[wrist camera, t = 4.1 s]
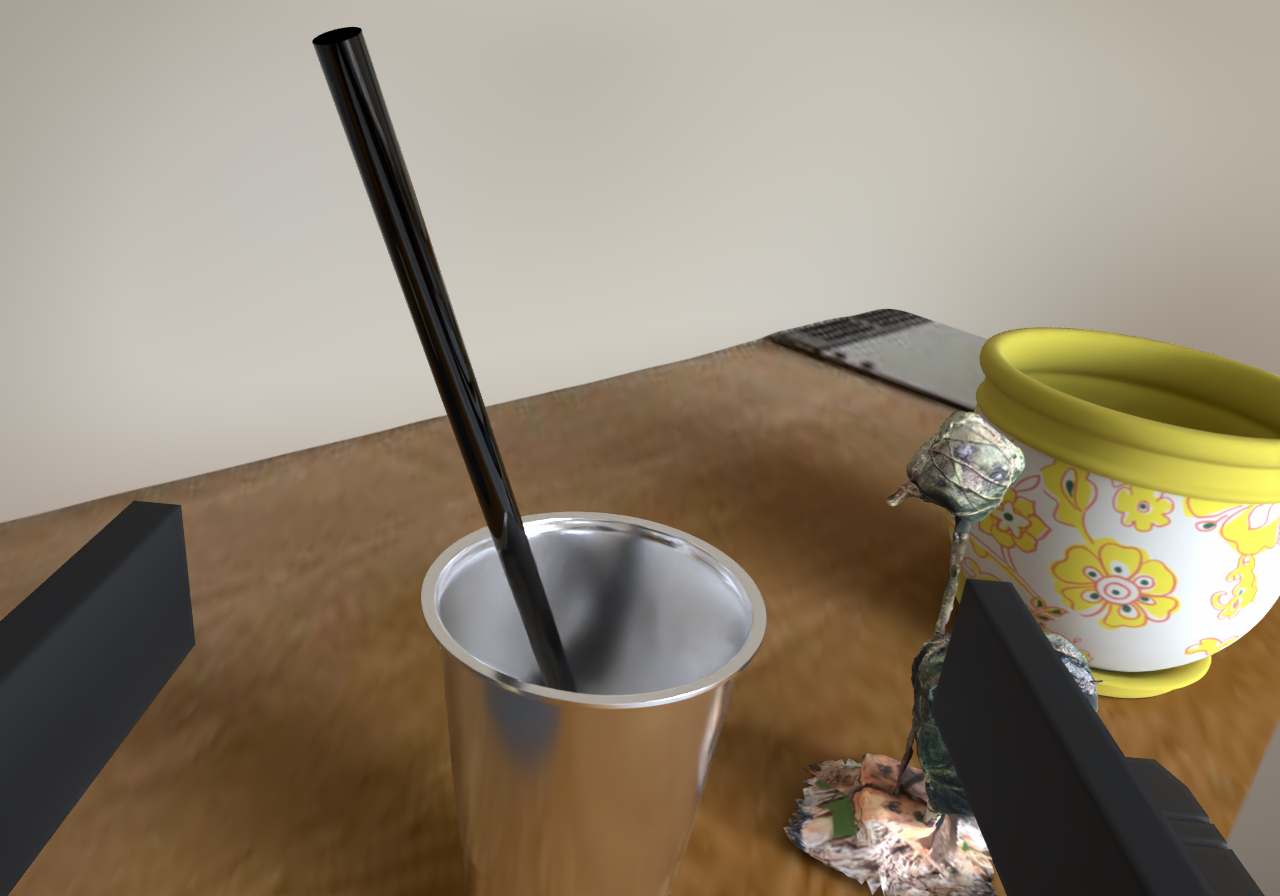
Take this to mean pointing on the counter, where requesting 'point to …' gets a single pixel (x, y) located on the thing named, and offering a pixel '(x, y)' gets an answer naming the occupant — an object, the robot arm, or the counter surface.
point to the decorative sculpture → (922, 713)
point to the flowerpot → (1132, 499)
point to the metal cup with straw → (554, 619)
